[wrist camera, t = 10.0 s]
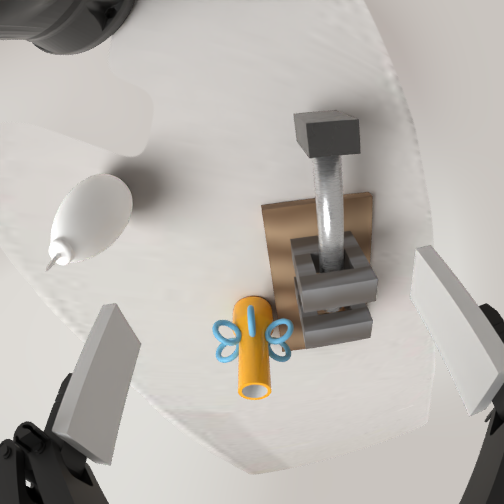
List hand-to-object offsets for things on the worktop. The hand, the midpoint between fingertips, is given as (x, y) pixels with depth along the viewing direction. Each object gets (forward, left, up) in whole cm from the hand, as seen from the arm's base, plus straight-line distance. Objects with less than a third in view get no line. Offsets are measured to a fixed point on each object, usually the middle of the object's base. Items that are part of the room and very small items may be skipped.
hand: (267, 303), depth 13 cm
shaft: (+7, +7, -22) cm, 24 cm away
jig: (+20, +7, -26) cm, 34 cm away
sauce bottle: (+2, -18, -27) cm, 32 cm away
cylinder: (+24, -4, -27) cm, 36 cm away
